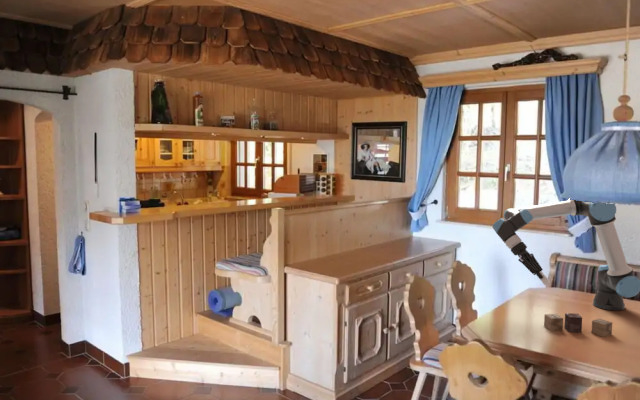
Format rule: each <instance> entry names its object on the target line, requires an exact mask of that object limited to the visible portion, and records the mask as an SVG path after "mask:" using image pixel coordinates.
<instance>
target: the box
mask: <svg viewBox="0 0 640 400" xmlns="http://www.w3.org/2000/svg"><path fill="white" fill-rule="evenodd" d="M564 329H566V331H567V332H569V333H582V329H583V316H581V314H579V313H570V312H565V313H564Z"/></svg>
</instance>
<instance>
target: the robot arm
mask: <svg viewBox="0 0 640 400" xmlns="http://www.w3.org/2000/svg"><path fill="white" fill-rule="evenodd" d="M616 214H617V206H616V204H615V203H614V204H606V203H603V204H600V203H592V202H583V201H576V200H570V198H568V200H564V201H557V202H551V203H545V204H538V205H537V204H536V205H532V206H531V205H530V206H526V207H519V208H518V207H517V208H507V209H506V210H504V212H503V218H499V219H498V220H496V221H495V222H494V223H493V224H492V228H493V231H494V232H495V233H496V235H498V237H499V238H500V239H501V241H502V242H504V244H505V246H506V247H507V248H508V249H509V250H510V252H511V253H512V254H513V256H518V262H520V264H522V265H523V266H524V267H525V268H526V269H527V270H528V271H529V272H530V273H531V274H532V275H533V276H537V278H538V279H539V280H540V281H541V282H542V284H543V285H544V286H547V285H548V284H550V283H551V280H550V279H549V278H548V277H547V276H546V275H545V273H544V272H543V271H544V269H543V268H542V265H540V263H539V262H538V260H537V258H535V255H534V254H533V253H530V252H529V251H528V250H527V248H528V246H527V244H525V242H524V241H523V240H522V238H521V237H520V236H519V235H518V234H517V233H516V232H517V231H518V230H520V229H522V228H524V227H525V226H526V225H528V224H530V223H531V222H532V221H536V220H543V219H549V218H556V217H562V216H570V215H571V216H572V217H575V216H585V217H588V220H589V223H590V225H591V226H592V227H594V228H595V231H596V234H597V237H598V240H599V243H600V246H601V249H602V251H603V255H604V257H605V262H606V264H600V265H599V266H598V271H597V287H596V288H597V289H596V293H595V296H594V297H593V300H592V306H594V307H595V308H599V309H602V310H606V311H617V312H618V311H624V310H625V309H626V308H625V302H624V298H632V297H636V296H637V295H638V294H639V292H640V279H639V278H638V277H636V276H635V272H634V269H633V267H631V266H629V265H628V263H627V260H626V256H625V254H624V251H623V247H622V244H621V241H620V239H619V238H620V237H619V234H618V232H617V229H616V225H615V222H616V220H617V218H616Z"/></svg>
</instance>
